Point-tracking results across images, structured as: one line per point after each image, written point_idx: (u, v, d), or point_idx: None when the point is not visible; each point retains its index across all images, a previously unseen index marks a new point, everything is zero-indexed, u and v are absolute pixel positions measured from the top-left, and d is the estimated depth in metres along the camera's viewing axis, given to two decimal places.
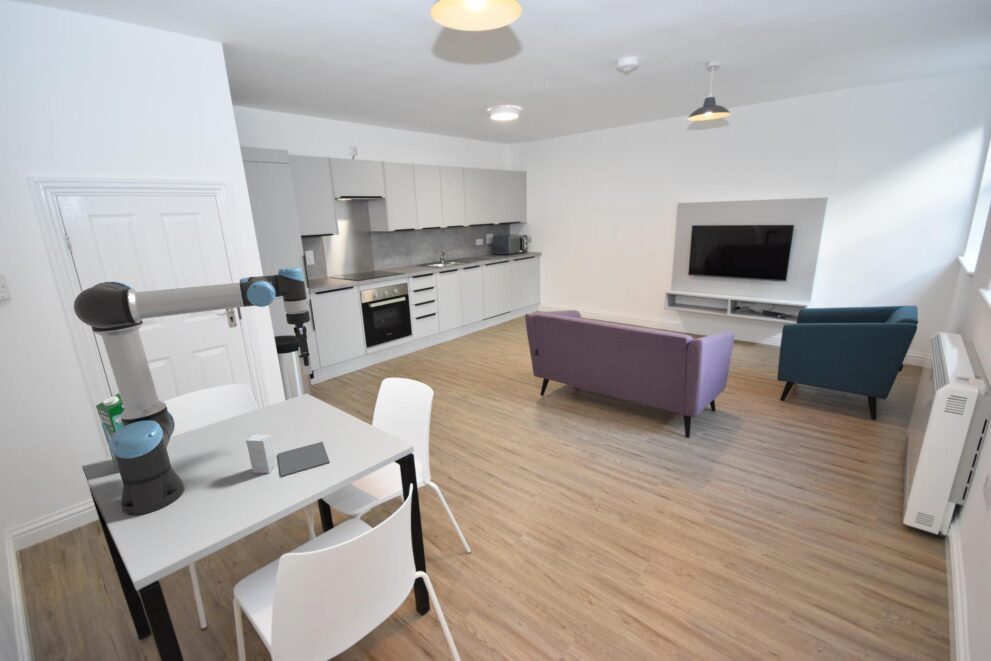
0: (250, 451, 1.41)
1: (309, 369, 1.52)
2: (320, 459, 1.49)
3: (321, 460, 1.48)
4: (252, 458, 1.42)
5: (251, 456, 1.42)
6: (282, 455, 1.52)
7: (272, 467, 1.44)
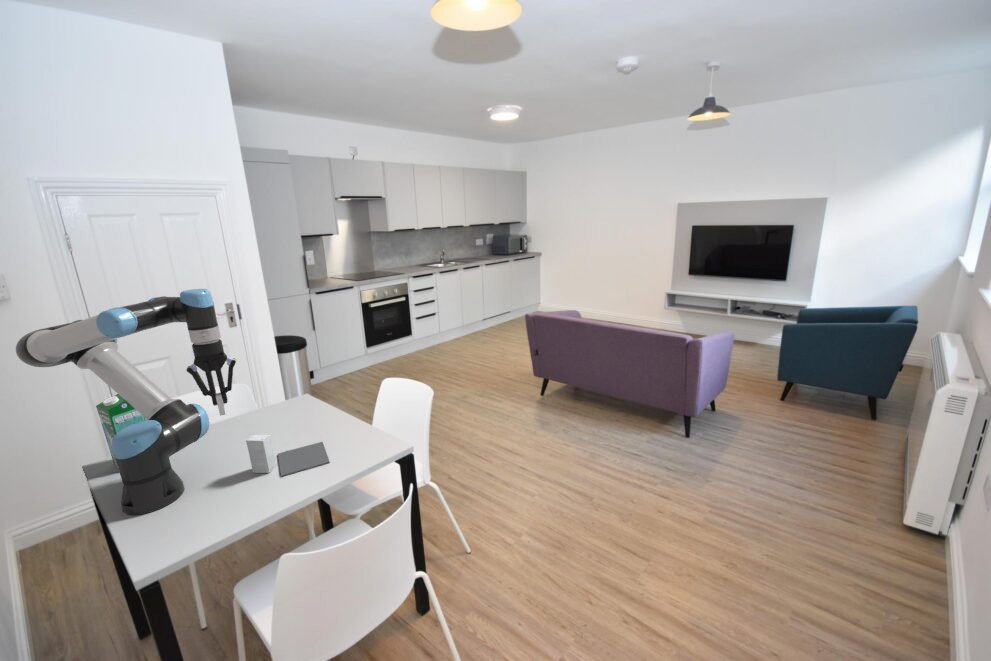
0: (250, 451, 1.41)
1: (219, 410, 1.34)
2: (320, 459, 1.49)
3: (321, 460, 1.48)
4: (252, 458, 1.42)
5: (251, 456, 1.42)
6: (282, 455, 1.52)
7: (272, 467, 1.44)
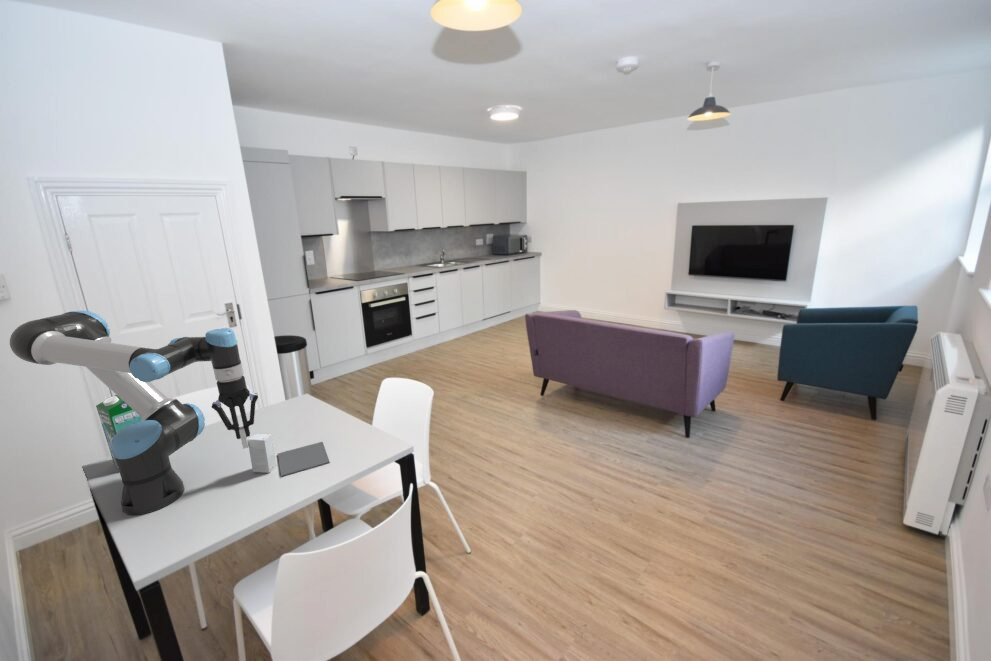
0: (251, 450, 1.41)
1: (242, 443, 1.39)
2: (320, 459, 1.49)
3: (321, 460, 1.48)
4: (252, 457, 1.42)
5: (251, 455, 1.42)
6: (282, 455, 1.52)
7: (272, 467, 1.44)
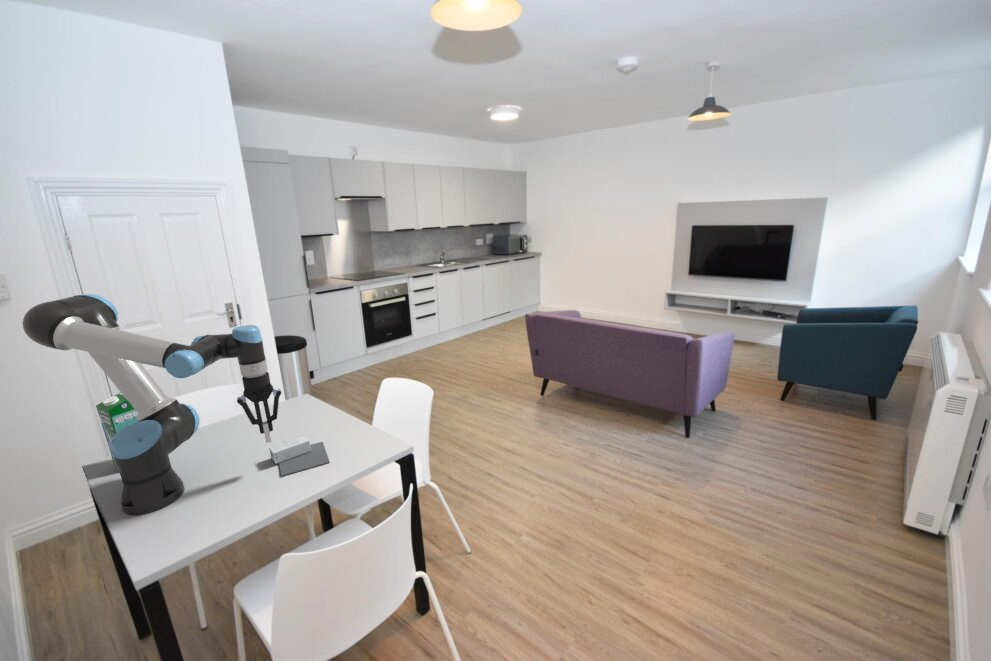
0: (293, 439, 1.54)
1: (265, 437, 1.42)
2: (320, 459, 1.49)
3: (321, 460, 1.48)
4: (286, 442, 1.53)
5: (287, 441, 1.53)
6: None
7: (277, 457, 1.47)
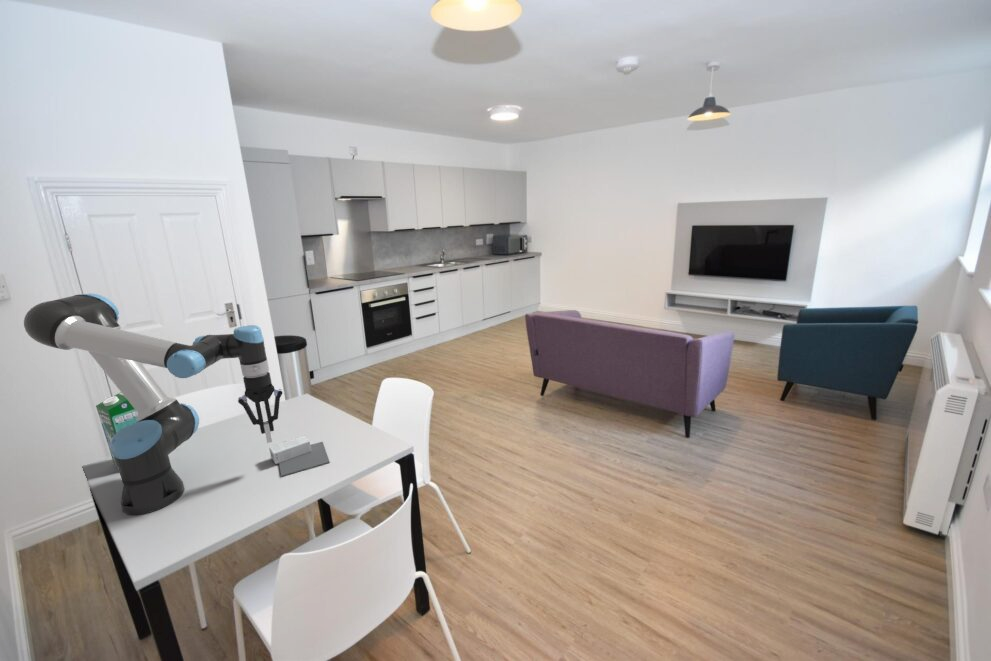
0: (293, 439, 1.54)
1: (266, 437, 1.42)
2: (320, 459, 1.49)
3: (321, 460, 1.48)
4: (286, 442, 1.52)
5: (288, 441, 1.53)
6: None
7: (277, 457, 1.46)
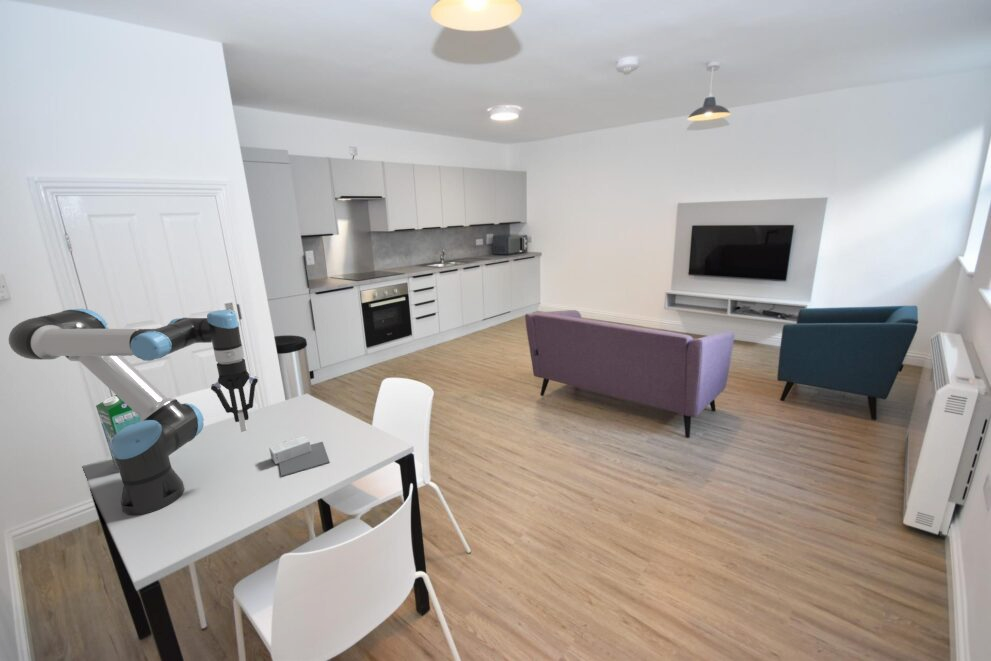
0: (293, 439, 1.54)
1: (240, 426, 1.38)
2: (320, 459, 1.49)
3: (321, 460, 1.48)
4: (286, 442, 1.52)
5: (288, 441, 1.53)
6: None
7: (277, 457, 1.46)
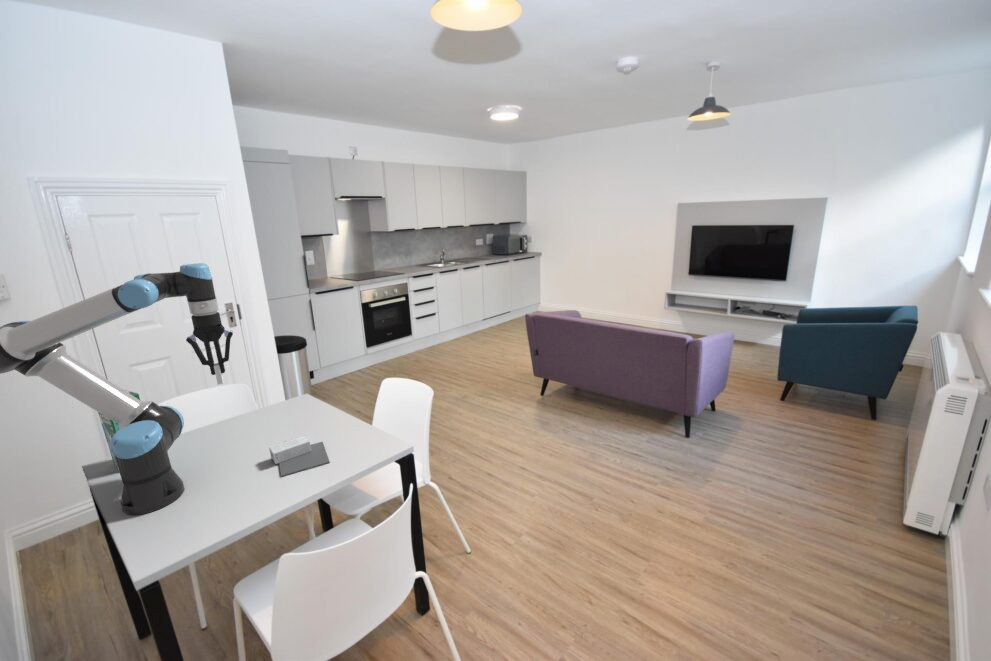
0: (293, 439, 1.54)
1: None
2: (320, 459, 1.49)
3: (321, 460, 1.48)
4: (286, 442, 1.52)
5: (288, 441, 1.53)
6: None
7: (277, 457, 1.46)
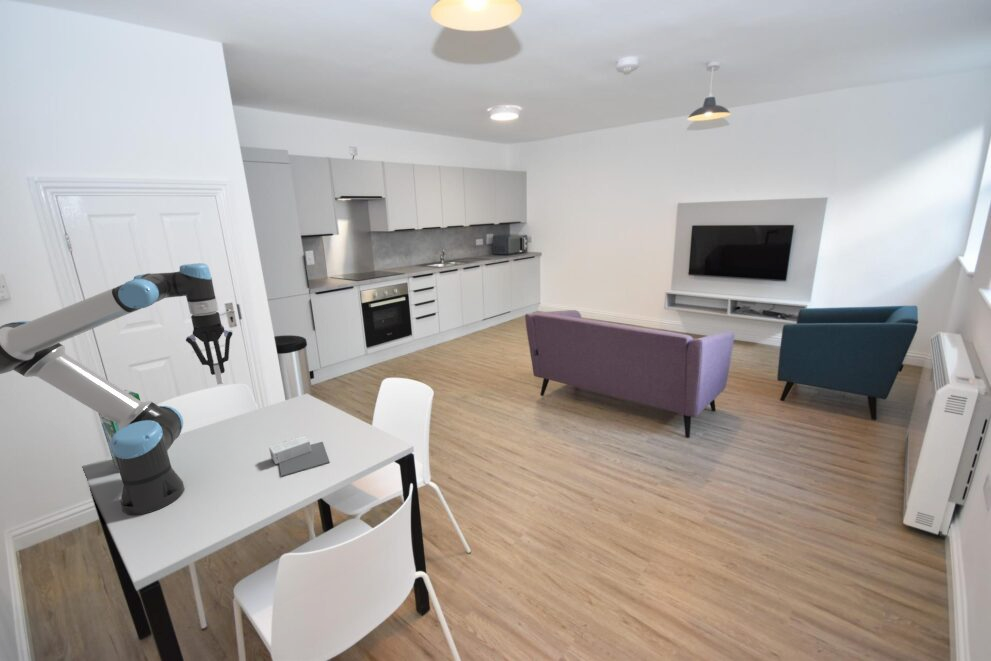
0: (293, 439, 1.54)
1: None
2: (320, 459, 1.49)
3: (321, 460, 1.48)
4: (286, 442, 1.52)
5: (288, 441, 1.53)
6: None
7: (277, 457, 1.46)
